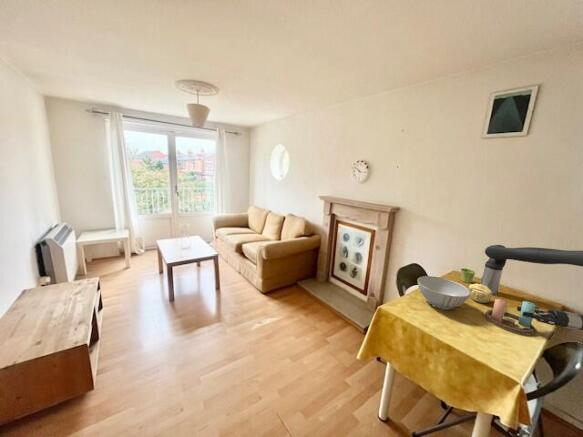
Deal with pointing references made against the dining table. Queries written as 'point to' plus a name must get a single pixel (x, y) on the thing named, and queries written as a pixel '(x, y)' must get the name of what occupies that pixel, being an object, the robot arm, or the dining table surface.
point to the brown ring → (509, 323)
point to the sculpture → (480, 293)
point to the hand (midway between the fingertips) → (520, 311)
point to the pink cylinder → (499, 310)
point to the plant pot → (467, 275)
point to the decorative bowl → (443, 292)
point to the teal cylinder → (526, 308)
